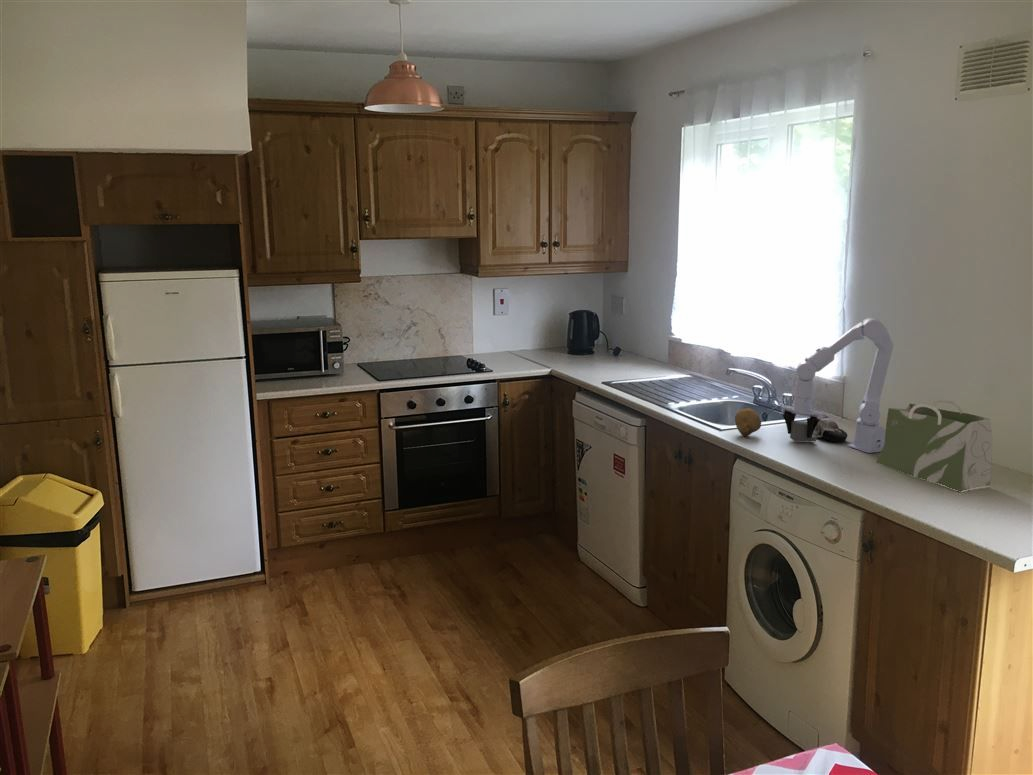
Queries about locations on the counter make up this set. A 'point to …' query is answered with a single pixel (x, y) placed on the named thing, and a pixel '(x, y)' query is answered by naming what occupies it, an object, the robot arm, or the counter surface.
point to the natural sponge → (747, 421)
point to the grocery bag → (939, 445)
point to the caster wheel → (830, 431)
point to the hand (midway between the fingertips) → (799, 435)
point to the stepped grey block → (800, 431)
